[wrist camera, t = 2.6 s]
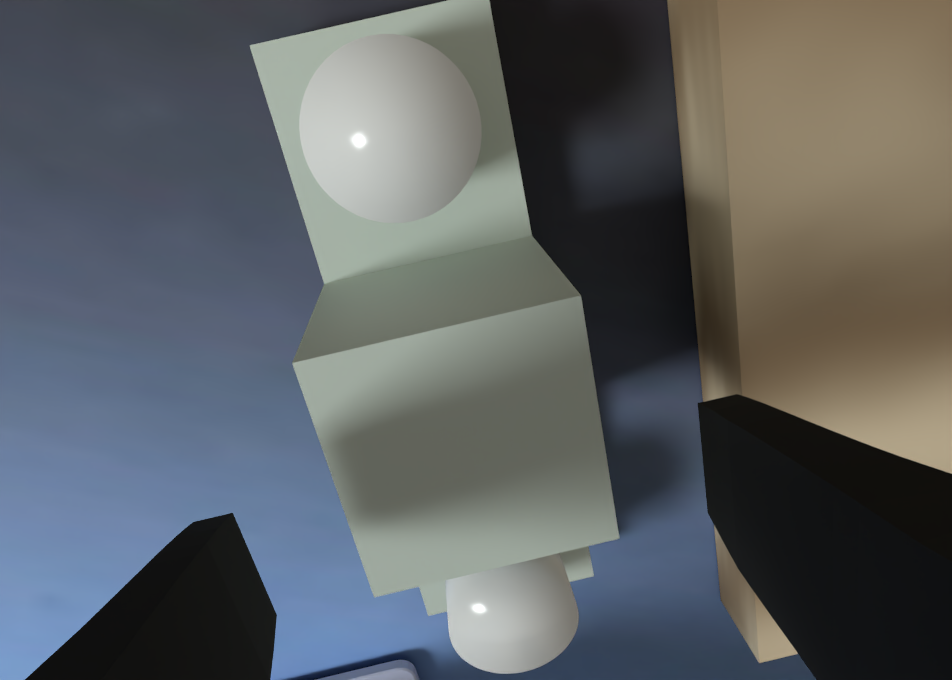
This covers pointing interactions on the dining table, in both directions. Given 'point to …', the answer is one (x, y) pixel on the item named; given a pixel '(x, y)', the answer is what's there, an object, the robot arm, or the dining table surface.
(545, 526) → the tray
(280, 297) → the dining table surface
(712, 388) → the shelf board
